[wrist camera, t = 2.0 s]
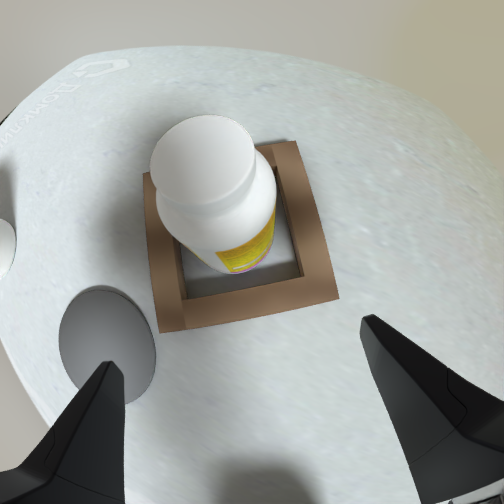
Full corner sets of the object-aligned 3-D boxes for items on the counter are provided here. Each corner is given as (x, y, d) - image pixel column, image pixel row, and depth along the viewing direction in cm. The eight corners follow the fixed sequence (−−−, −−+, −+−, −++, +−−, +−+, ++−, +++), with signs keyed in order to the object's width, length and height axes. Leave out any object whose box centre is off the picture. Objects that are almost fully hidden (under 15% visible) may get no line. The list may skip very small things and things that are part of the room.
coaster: (180, 359, 22) (178, 360, 21) (108, 423, 20) (105, 425, 20) (106, 266, 24) (103, 265, 23) (48, 336, 22) (44, 336, 22)
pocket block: (333, 300, 22) (339, 298, 20) (168, 332, 22) (159, 333, 20) (293, 152, 25) (295, 140, 23) (150, 182, 25) (142, 173, 23)
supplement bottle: (282, 212, 24) (298, 114, 11) (259, 285, 23) (251, 251, 10) (211, 191, 25) (168, 92, 12) (184, 260, 23) (106, 205, 11)
